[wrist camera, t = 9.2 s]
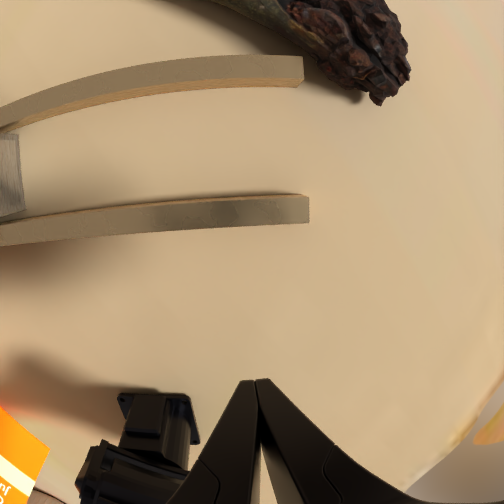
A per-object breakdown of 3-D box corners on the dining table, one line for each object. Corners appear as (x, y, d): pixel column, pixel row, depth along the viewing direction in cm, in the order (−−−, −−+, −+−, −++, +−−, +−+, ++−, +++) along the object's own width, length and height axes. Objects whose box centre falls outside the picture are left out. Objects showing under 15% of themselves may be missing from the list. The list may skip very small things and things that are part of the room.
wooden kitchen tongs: (300, 303, 21) (341, 383, 12) (-51, 304, 18) (-99, 340, 10) (295, 66, 16) (343, 3, 8) (-74, 156, 14) (-131, 165, 6)
